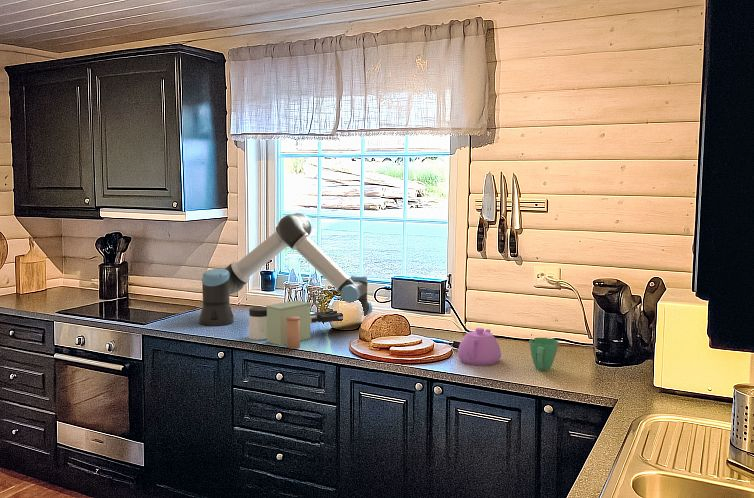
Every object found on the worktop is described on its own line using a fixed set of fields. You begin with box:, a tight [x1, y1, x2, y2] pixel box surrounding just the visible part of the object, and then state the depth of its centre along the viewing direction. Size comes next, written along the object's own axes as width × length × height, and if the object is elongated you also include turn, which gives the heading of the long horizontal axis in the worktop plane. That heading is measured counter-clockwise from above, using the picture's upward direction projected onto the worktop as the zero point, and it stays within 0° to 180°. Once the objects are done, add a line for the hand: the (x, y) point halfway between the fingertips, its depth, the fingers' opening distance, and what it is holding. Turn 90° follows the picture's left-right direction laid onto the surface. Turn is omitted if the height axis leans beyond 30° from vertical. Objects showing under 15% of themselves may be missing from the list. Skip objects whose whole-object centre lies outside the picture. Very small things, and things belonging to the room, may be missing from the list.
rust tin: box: [286, 316, 301, 350], centre depth 268 cm, size 5×5×12 cm
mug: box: [529, 337, 559, 371], centre depth 240 cm, size 15×10×10 cm
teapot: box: [457, 327, 502, 367], centre depth 252 cm, size 22×16×12 cm
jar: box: [248, 306, 267, 341], centre depth 283 cm, size 9×8×12 cm
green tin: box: [265, 299, 312, 346], centre depth 279 cm, size 8×16×15 cm, turn 139°
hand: (304, 321), depth 285 cm, fingers closed
